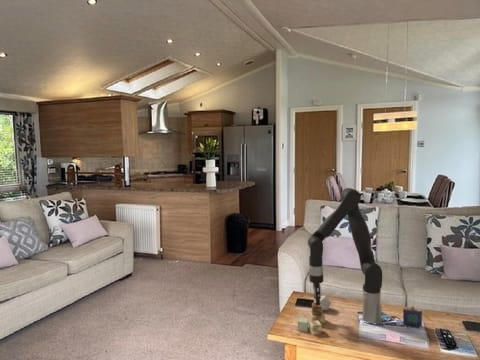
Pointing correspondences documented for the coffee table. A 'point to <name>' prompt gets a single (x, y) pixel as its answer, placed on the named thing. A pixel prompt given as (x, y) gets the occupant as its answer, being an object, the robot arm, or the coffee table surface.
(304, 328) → the sage block
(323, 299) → the die
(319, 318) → the oak base
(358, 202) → the robot arm
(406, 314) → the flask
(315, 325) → the beech block
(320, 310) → the walnut block
